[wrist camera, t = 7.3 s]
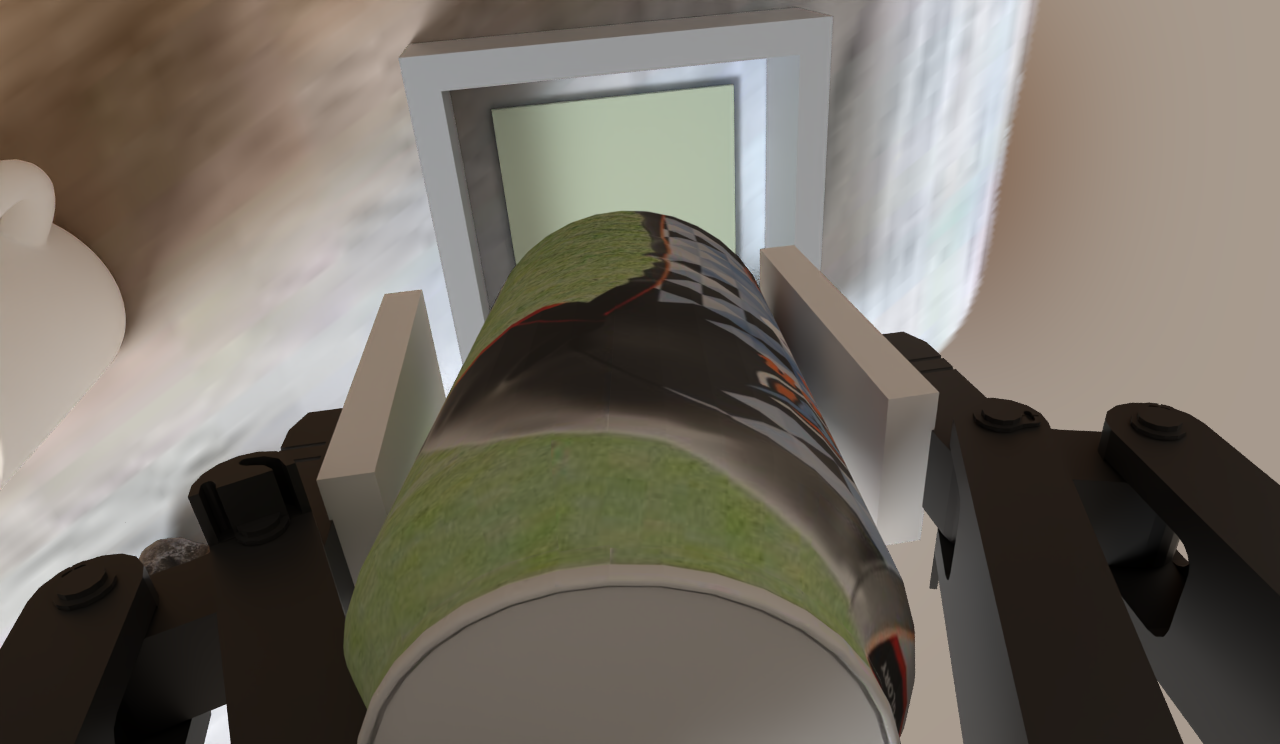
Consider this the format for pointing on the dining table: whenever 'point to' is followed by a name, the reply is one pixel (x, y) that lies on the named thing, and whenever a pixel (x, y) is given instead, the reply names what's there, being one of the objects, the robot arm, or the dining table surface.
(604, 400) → the beverage can
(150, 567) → the rock
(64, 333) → the mug
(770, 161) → the corral
